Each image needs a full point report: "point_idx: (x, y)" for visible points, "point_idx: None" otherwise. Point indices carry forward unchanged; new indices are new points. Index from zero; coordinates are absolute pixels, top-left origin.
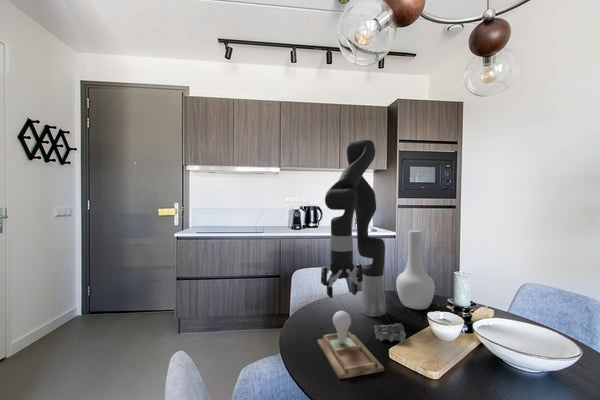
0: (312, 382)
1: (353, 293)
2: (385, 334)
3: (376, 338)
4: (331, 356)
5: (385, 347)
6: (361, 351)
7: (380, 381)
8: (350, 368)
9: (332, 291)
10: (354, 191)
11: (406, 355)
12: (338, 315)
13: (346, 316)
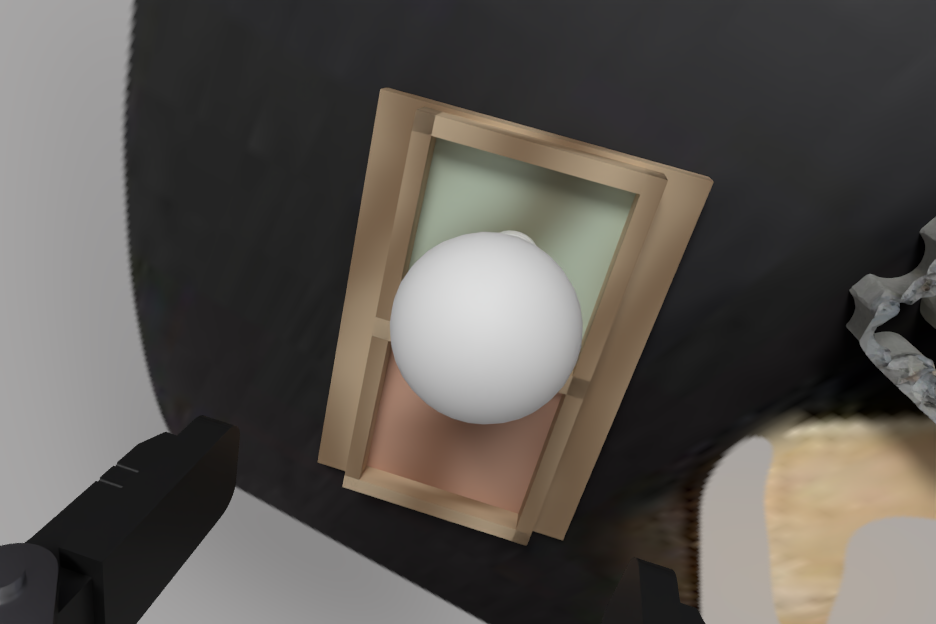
0: (198, 401)
1: (610, 621)
2: (921, 354)
3: (850, 292)
4: (363, 324)
5: (785, 403)
6: (562, 395)
7: (488, 555)
8: (370, 494)
9: (163, 587)
10: None
11: (810, 520)
12: (411, 375)
13: (485, 421)
